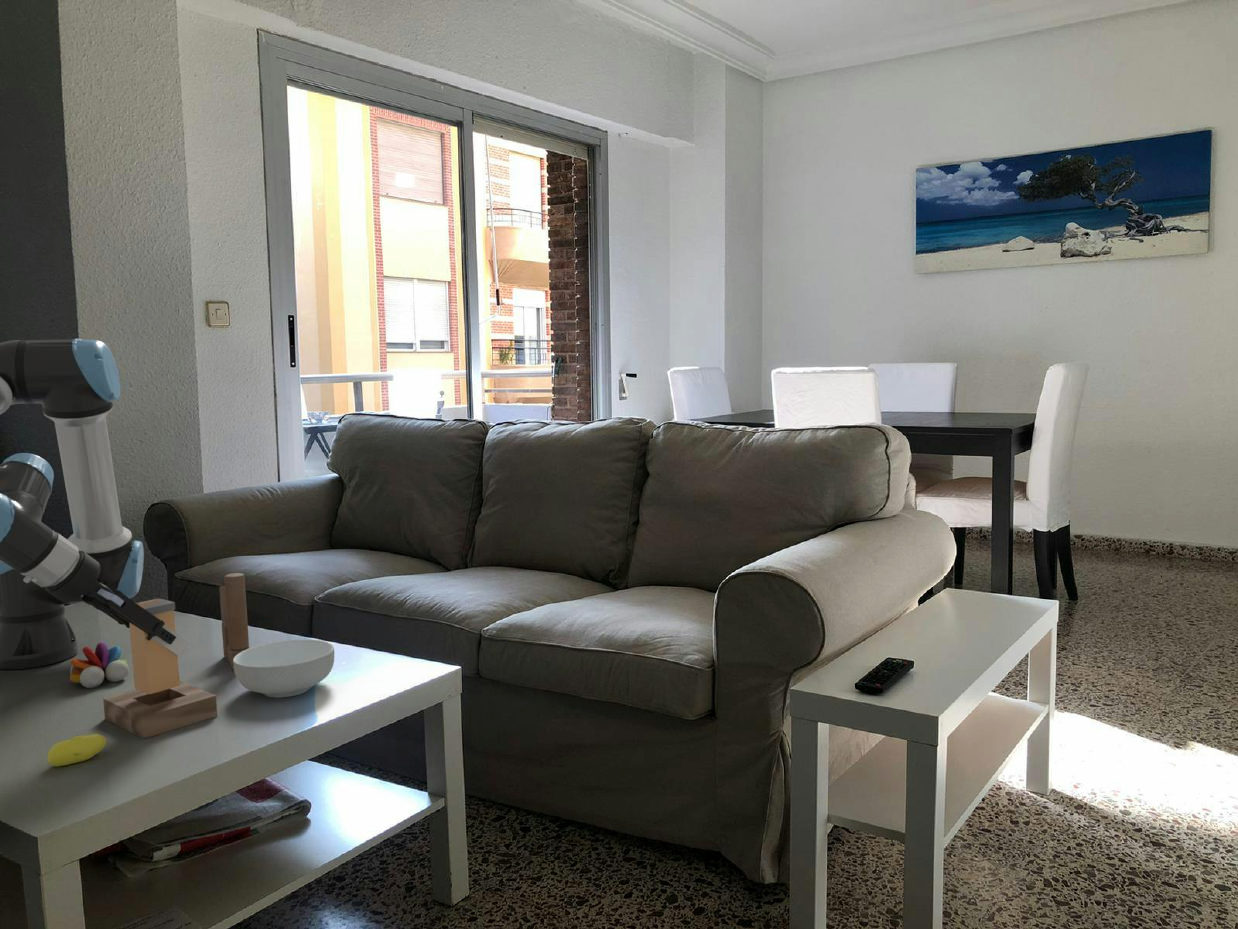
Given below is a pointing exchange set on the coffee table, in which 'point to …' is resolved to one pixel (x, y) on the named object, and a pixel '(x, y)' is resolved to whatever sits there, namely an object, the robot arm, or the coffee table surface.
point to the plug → (154, 652)
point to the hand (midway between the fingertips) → (176, 646)
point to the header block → (159, 709)
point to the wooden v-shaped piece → (234, 616)
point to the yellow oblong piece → (76, 749)
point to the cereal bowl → (284, 666)
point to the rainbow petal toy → (99, 666)
